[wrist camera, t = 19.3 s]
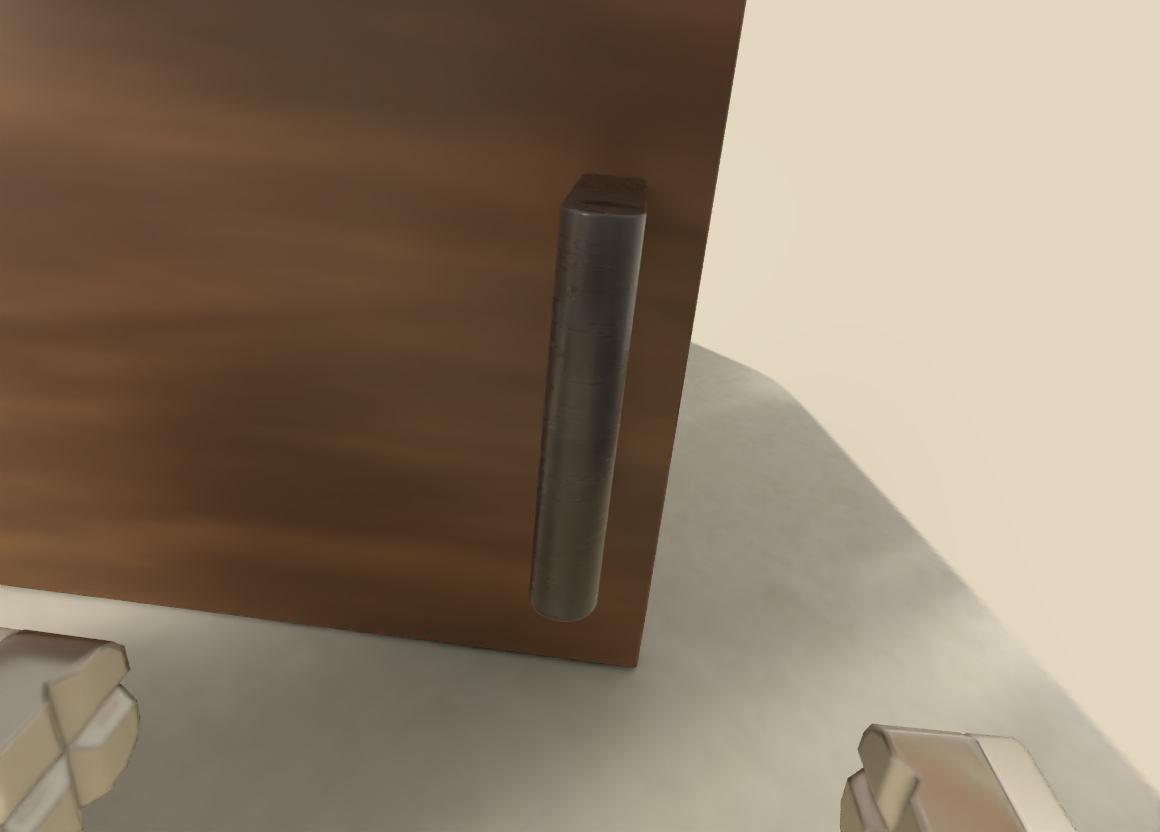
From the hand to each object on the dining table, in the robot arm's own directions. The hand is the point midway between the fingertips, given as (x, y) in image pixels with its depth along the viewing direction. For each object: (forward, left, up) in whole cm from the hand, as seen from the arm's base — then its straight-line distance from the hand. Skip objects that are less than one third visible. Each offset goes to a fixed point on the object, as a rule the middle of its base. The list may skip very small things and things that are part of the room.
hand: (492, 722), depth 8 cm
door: (+8, +10, -11) cm, 17 cm away
